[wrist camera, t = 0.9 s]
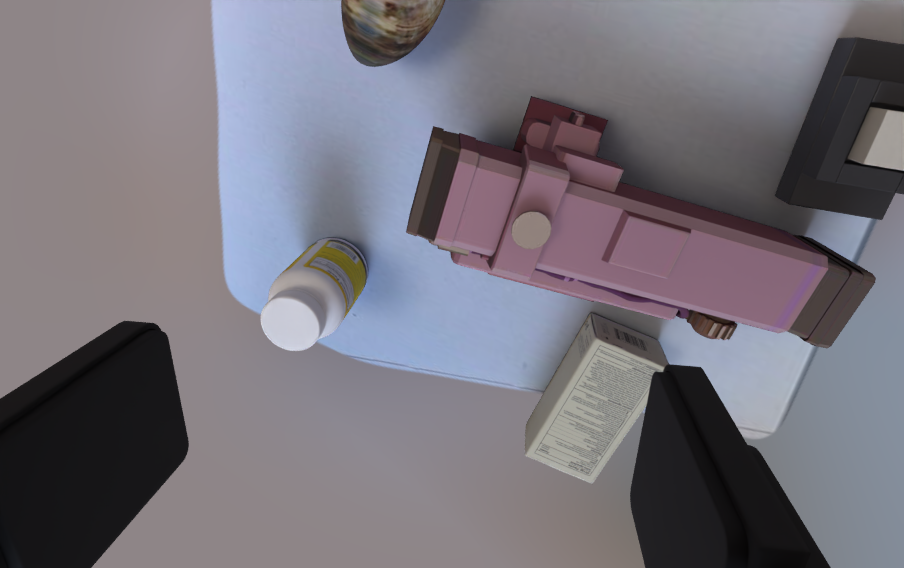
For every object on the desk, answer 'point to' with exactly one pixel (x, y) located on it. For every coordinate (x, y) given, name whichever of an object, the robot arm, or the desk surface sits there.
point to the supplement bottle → (314, 294)
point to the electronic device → (622, 235)
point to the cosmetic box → (593, 398)
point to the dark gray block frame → (846, 132)
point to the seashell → (387, 27)
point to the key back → (880, 140)
